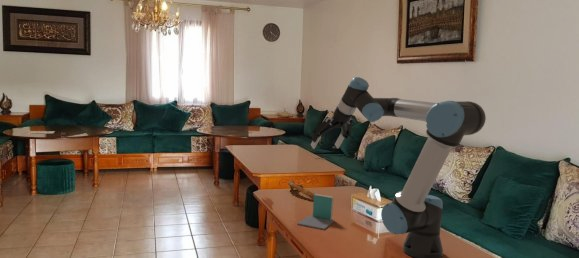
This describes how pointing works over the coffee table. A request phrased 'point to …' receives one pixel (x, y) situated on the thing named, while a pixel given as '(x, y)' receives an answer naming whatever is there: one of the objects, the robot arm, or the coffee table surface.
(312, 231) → the coffee table surface
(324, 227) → the pad
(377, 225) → the coffee table surface
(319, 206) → the tile
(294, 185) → the brown curved bar
